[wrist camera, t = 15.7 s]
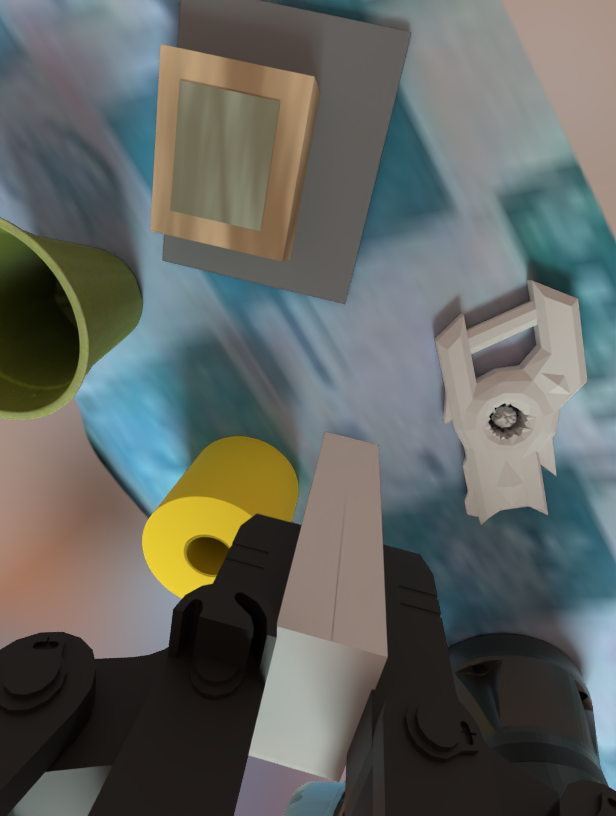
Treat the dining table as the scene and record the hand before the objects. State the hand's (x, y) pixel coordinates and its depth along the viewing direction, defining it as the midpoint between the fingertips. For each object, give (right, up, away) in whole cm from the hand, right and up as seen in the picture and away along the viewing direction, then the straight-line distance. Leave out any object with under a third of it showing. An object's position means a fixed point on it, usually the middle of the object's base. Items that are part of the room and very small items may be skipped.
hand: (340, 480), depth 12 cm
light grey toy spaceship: (+15, +3, +21) cm, 26 cm away
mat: (-3, +19, +17) cm, 25 cm away
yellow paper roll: (-7, -5, +27) cm, 28 cm away
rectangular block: (-1, +17, +15) cm, 22 cm away
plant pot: (-17, +11, +22) cm, 30 cm away
